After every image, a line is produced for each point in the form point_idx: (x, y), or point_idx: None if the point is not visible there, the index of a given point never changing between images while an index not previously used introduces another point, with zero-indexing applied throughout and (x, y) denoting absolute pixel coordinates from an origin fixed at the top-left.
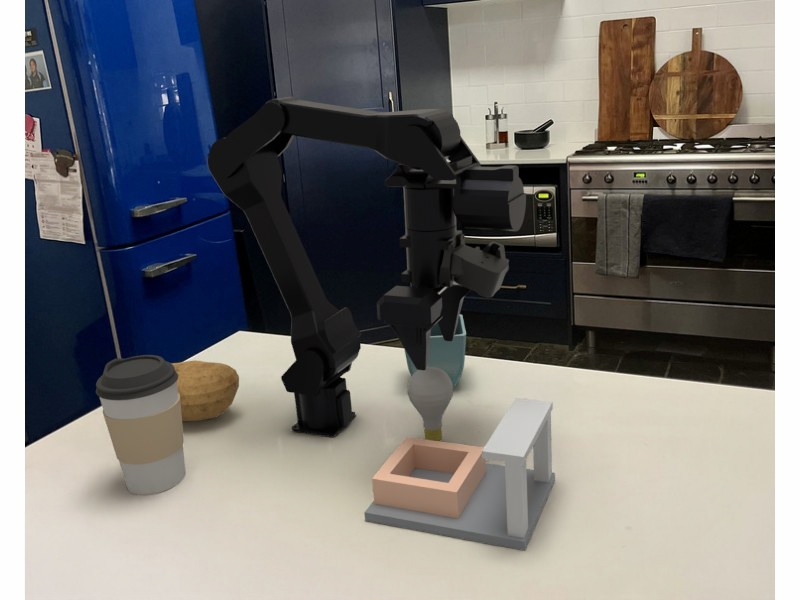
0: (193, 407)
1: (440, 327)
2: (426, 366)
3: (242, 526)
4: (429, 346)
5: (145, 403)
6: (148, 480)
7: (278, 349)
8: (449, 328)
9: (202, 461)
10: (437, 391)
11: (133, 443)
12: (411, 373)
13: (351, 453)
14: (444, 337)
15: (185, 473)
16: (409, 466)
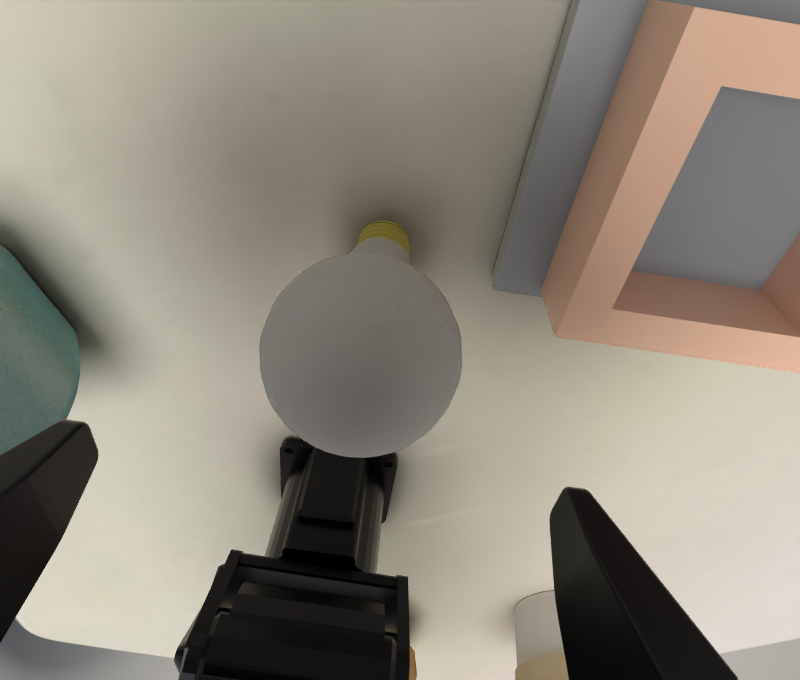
0: (411, 661)
1: (49, 550)
2: (584, 501)
3: (740, 502)
4: None
5: None
6: None
7: (59, 592)
8: (29, 510)
9: (504, 584)
10: (444, 333)
11: None
12: (75, 394)
13: (463, 410)
14: (89, 473)
15: (546, 592)
16: (636, 283)
